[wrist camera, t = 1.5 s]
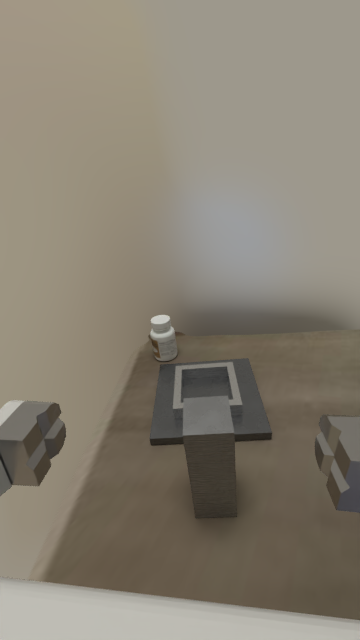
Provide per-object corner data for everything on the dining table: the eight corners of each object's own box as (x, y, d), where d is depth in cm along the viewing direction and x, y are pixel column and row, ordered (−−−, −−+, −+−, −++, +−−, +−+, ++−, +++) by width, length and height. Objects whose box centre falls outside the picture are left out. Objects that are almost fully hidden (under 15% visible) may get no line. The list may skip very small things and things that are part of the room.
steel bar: (231, 476, 30) (227, 395, 25) (236, 516, 27) (234, 432, 21) (194, 478, 31) (183, 398, 25) (195, 518, 27) (182, 435, 22)
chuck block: (248, 364, 47) (248, 349, 46) (271, 439, 34) (272, 422, 32) (161, 370, 48) (158, 356, 47) (151, 445, 35) (147, 428, 34)
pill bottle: (153, 351, 54) (146, 316, 50) (175, 346, 54) (170, 311, 51) (156, 364, 50) (149, 327, 46) (179, 359, 51) (174, 322, 47)
